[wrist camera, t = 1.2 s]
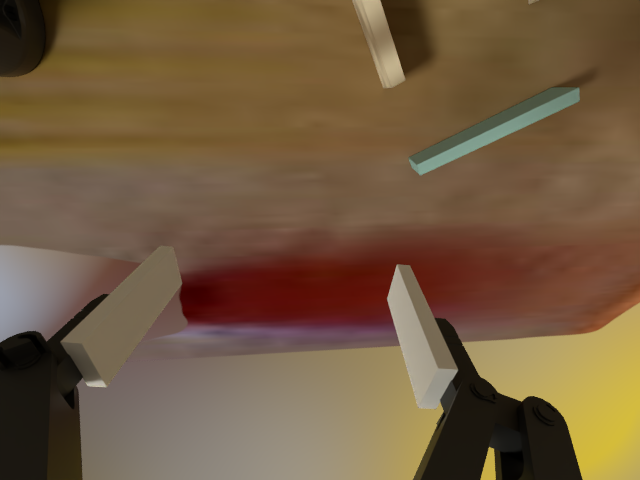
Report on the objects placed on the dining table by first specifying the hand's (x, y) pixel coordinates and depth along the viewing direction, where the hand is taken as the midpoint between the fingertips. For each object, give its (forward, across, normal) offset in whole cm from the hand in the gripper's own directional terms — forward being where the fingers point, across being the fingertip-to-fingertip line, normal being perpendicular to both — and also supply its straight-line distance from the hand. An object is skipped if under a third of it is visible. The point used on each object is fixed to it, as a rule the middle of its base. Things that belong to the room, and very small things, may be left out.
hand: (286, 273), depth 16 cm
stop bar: (+25, +22, +6) cm, 34 cm away
